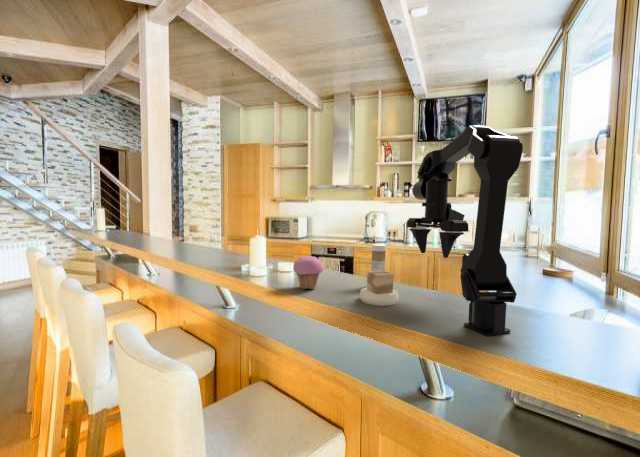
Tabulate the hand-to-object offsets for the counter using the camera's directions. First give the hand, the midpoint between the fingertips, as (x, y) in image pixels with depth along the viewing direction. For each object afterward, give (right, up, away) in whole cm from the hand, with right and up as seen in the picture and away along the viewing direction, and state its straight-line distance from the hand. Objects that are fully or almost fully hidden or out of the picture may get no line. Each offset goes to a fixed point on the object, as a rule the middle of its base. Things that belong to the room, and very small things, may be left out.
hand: (433, 255), depth 94 cm
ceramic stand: (-16, -12, -3) cm, 20 cm away
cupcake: (-36, -11, +8) cm, 38 cm away
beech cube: (-16, -9, -4) cm, 19 cm away
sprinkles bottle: (-14, -11, +13) cm, 22 cm away
